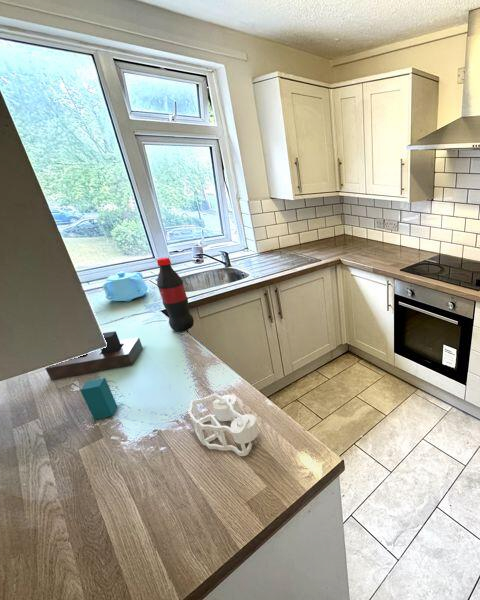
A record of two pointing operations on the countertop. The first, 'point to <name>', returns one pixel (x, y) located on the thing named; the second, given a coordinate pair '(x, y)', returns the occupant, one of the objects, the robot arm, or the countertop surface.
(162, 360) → the countertop surface
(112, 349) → the black upright block
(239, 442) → the skeletal toy car
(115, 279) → the decorative pot
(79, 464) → the countertop surface
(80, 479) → the countertop surface
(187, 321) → the cola bottle
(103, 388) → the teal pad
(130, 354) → the walnut base
